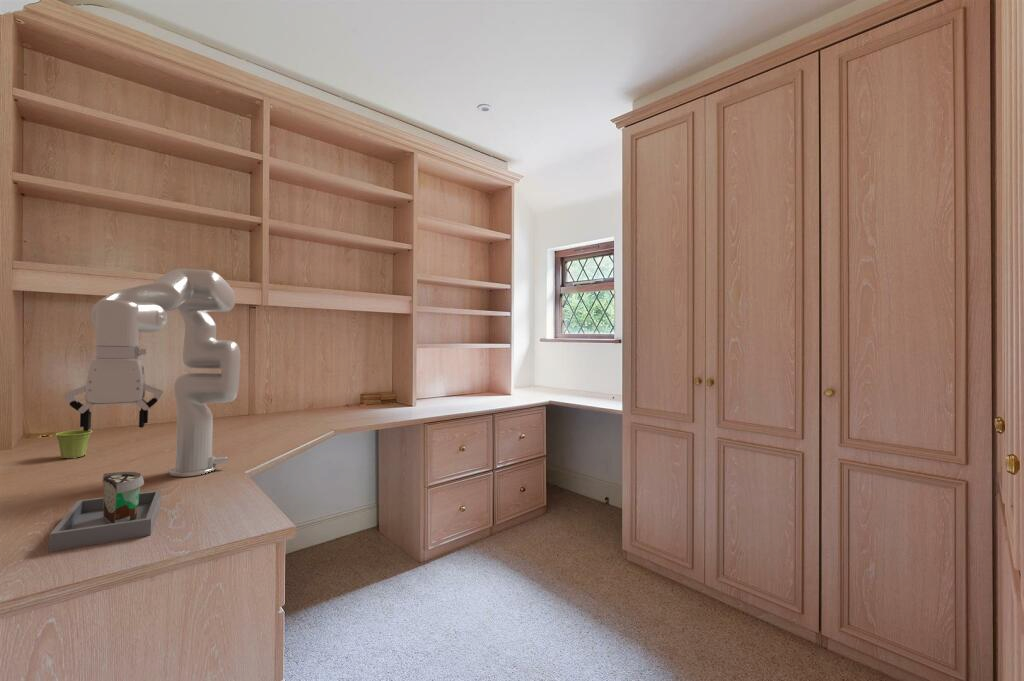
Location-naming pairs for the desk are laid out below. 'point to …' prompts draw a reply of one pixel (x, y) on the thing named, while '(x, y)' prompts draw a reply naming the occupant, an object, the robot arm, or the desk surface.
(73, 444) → the plant pot
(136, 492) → the food container
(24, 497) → the desk surface
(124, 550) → the desk surface
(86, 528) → the parts tray
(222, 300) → the robot arm
